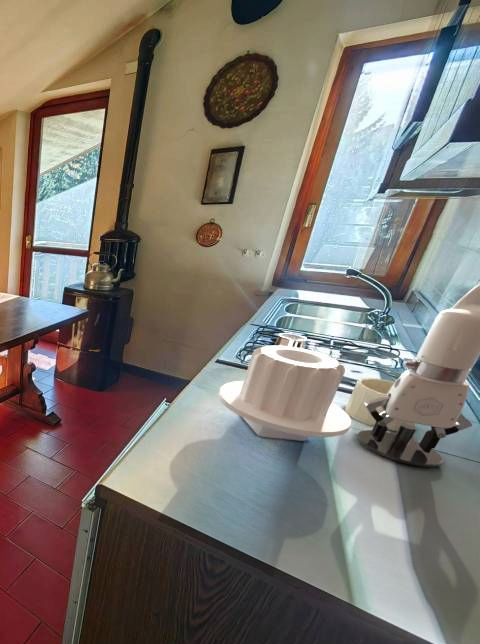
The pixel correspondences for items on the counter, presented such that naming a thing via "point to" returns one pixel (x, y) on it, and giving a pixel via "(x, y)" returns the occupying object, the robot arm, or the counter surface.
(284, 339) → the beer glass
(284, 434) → the ribbed cylinder on disc
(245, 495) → the counter surface
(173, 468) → the counter surface
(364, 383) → the faceted cream dish
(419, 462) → the lid
